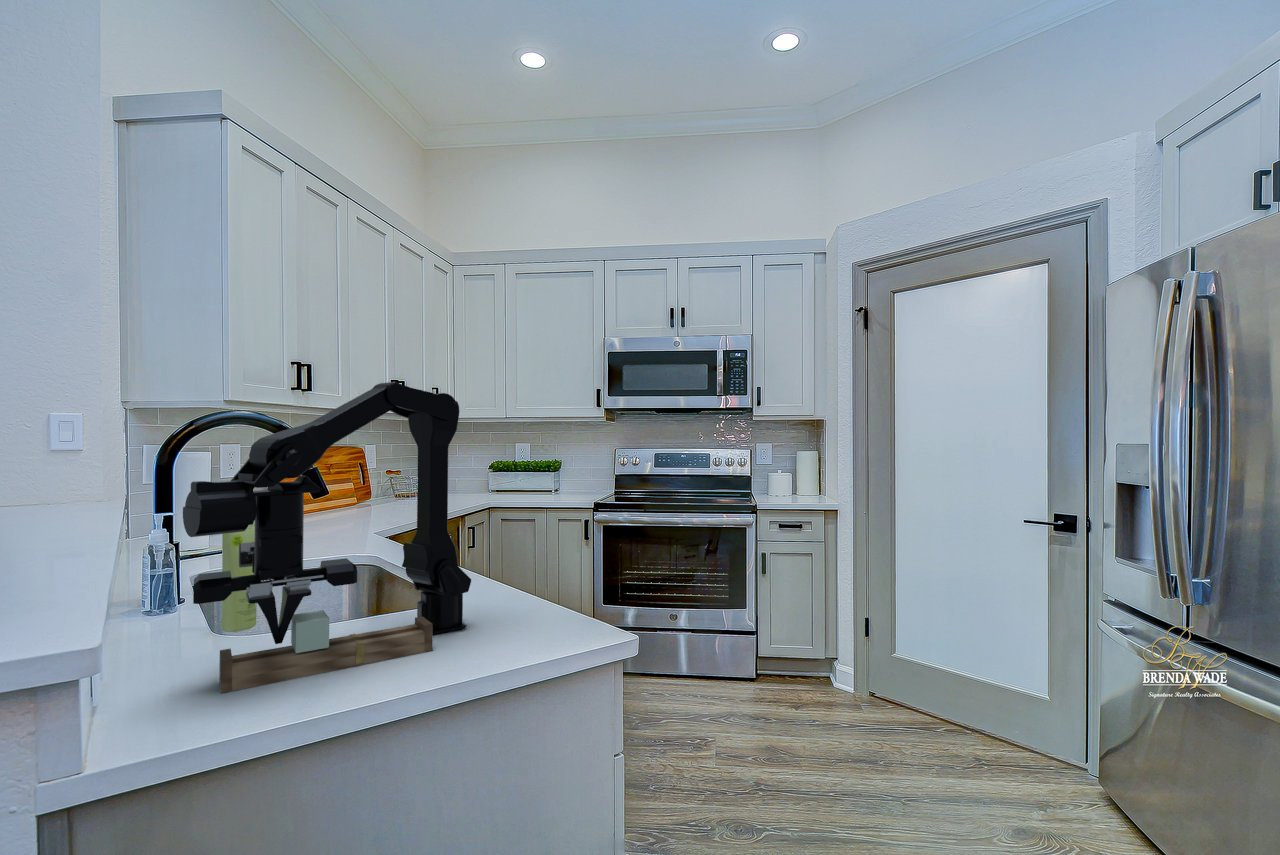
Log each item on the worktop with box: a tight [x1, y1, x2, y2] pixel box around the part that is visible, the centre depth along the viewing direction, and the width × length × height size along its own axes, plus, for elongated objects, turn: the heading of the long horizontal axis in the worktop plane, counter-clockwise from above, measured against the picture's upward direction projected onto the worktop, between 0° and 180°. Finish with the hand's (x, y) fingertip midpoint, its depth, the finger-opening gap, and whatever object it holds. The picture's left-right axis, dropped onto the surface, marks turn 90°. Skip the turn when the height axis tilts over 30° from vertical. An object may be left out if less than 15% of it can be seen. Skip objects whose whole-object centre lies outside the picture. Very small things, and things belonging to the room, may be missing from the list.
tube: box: [221, 520, 258, 633], centre depth 102 cm, size 6×5×20 cm
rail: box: [218, 616, 434, 694], centre depth 86 cm, size 26×5×4 cm, turn 126°
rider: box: [290, 609, 330, 653], centre depth 84 cm, size 4×5×6 cm
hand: (278, 643), depth 82 cm, fingers closed
